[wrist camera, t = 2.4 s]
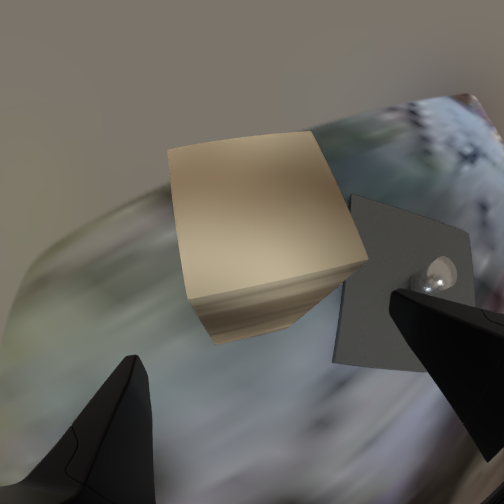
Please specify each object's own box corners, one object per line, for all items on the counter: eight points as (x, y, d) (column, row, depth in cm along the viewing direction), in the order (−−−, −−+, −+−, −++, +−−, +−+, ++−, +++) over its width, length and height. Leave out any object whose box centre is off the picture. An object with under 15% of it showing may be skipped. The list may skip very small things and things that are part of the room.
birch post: (286, 328, 20) (368, 258, 8) (215, 344, 19) (187, 299, 7) (268, 262, 21) (310, 130, 10) (201, 276, 21) (167, 149, 9)
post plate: (468, 373, 18) (499, 368, 15) (331, 362, 19) (355, 359, 15) (465, 235, 24) (489, 217, 20) (349, 197, 24) (366, 169, 21)
